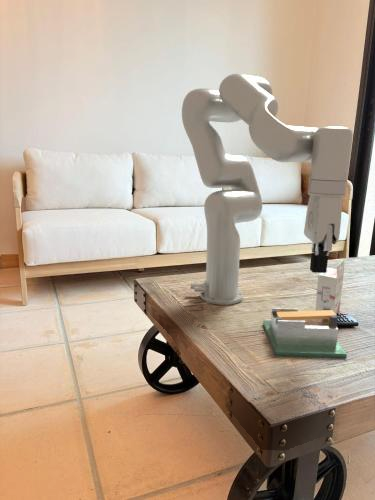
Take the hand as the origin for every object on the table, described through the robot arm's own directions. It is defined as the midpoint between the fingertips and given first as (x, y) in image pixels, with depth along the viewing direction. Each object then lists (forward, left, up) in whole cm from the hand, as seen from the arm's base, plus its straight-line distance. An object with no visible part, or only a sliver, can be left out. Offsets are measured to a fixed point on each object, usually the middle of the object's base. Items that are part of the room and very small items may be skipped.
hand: (317, 271), depth 87 cm
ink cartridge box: (+9, +16, -17) cm, 25 cm away
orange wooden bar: (-2, 0, -11) cm, 11 cm away
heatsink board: (-2, 0, -17) cm, 17 cm away
